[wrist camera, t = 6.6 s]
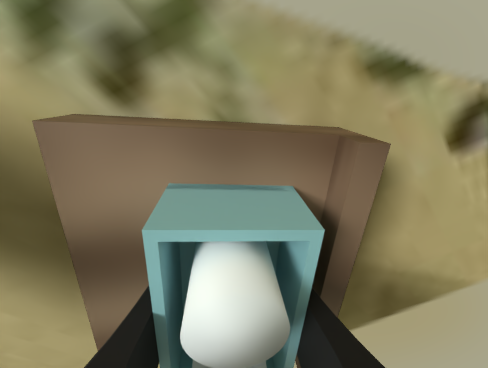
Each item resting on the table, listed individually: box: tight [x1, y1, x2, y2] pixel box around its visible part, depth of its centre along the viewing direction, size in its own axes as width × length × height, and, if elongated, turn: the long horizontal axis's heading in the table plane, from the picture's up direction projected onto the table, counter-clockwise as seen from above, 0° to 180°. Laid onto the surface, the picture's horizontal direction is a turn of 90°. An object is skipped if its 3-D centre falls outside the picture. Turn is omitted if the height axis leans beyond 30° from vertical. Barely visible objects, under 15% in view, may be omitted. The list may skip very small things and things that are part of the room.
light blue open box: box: [142, 183, 325, 368], centre depth 9 cm, size 9×5×5 cm, turn 177°
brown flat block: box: [32, 114, 391, 368], centre depth 12 cm, size 14×13×4 cm
